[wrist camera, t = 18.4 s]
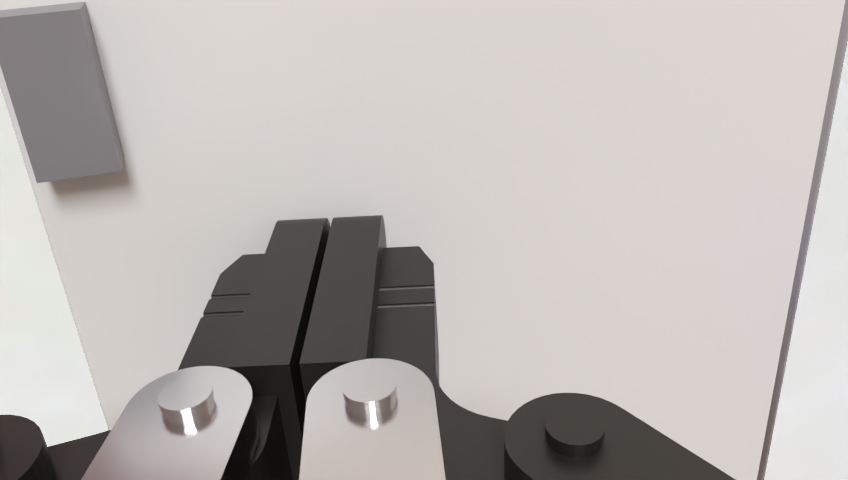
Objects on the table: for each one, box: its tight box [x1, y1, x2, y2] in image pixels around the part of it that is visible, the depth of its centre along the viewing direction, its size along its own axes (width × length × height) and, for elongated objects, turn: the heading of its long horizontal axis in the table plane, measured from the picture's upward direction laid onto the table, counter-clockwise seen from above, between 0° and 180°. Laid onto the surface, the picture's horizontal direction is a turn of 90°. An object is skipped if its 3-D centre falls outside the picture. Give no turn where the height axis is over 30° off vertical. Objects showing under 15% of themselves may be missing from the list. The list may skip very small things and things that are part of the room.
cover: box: [0, 0, 848, 480], centre depth 13 cm, size 13×12×1 cm
